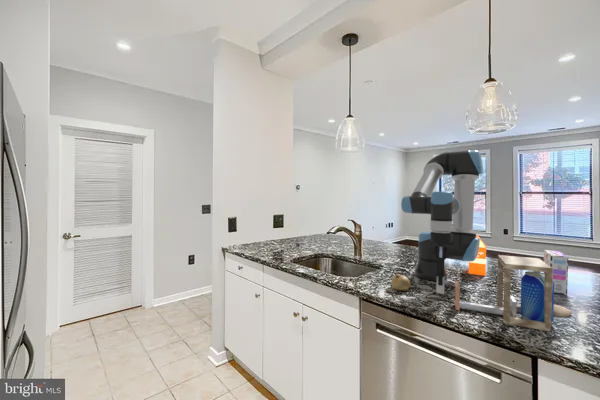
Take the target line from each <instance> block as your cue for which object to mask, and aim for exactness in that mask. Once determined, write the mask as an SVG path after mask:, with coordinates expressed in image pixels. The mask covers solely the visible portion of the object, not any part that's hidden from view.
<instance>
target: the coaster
mask: <svg viewBox="0 0 600 400" xmlns="http://www.w3.org/2000/svg"><path fill="white" fill-rule="evenodd" d="M571 316H572V311H571V310H569V309H568V308H566V307H564V306H561V305H558V304H554V311H553V317H560V318H568V317H571Z"/></svg>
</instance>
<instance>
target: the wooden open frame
mask: <svg viewBox="0 0 600 400" xmlns="http://www.w3.org/2000/svg"><path fill="white" fill-rule="evenodd" d="M511 270H521V271H533V272H541V273H544V272H545V283H544V322H540V321H534V320H527V319H523V318H521V317H520V318H519V317H516V318H515V317H511V316H510V296H511V275H512V274H511ZM552 276H553V268H552V267H550V266H549V265H548V264H546V263H545V262H544V260H542V259H541V258H539V257H528V256H527V257H525V256H515V255H504V254H497V282H496V283H497V287H496V291H497V294H496V296H497V297H496V307H502V308H504V309H503V315H502V317H503V319H502V322H503V324H506V325H512V326H518V327H524V328H528V329H535V330H540V331H547V332H552V323H551V317H552ZM516 313H520V314H521V305H519V304H517V312H516Z"/></svg>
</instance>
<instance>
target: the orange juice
mask: <svg viewBox="0 0 600 400" xmlns="http://www.w3.org/2000/svg"><path fill="white" fill-rule="evenodd" d="M476 237H478V238H479V239H480V245H479V251H478V254H477V257H476V259H475V260H474V261H468V274H469V275H470V274H471V275H477V276H479V275H480V276H486V273H487V270H486V269H487V267H486V266H487V246H486V244H485V243H484V241H483V240H482V239H481V238H480V236H479V234H476Z"/></svg>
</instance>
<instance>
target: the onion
mask: <svg viewBox="0 0 600 400" xmlns="http://www.w3.org/2000/svg"><path fill="white" fill-rule="evenodd" d="M410 280H411V279H409V278H408V277H407V276H405V275H404V274H403V275H402V274H399V273H397V274H395V276H393V277H392V279H391V283H390V284H391V286H392V288H393V289H394V290H396V291H404V292H405V291H408V290H409V289H410V287H411V281H410Z"/></svg>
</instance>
